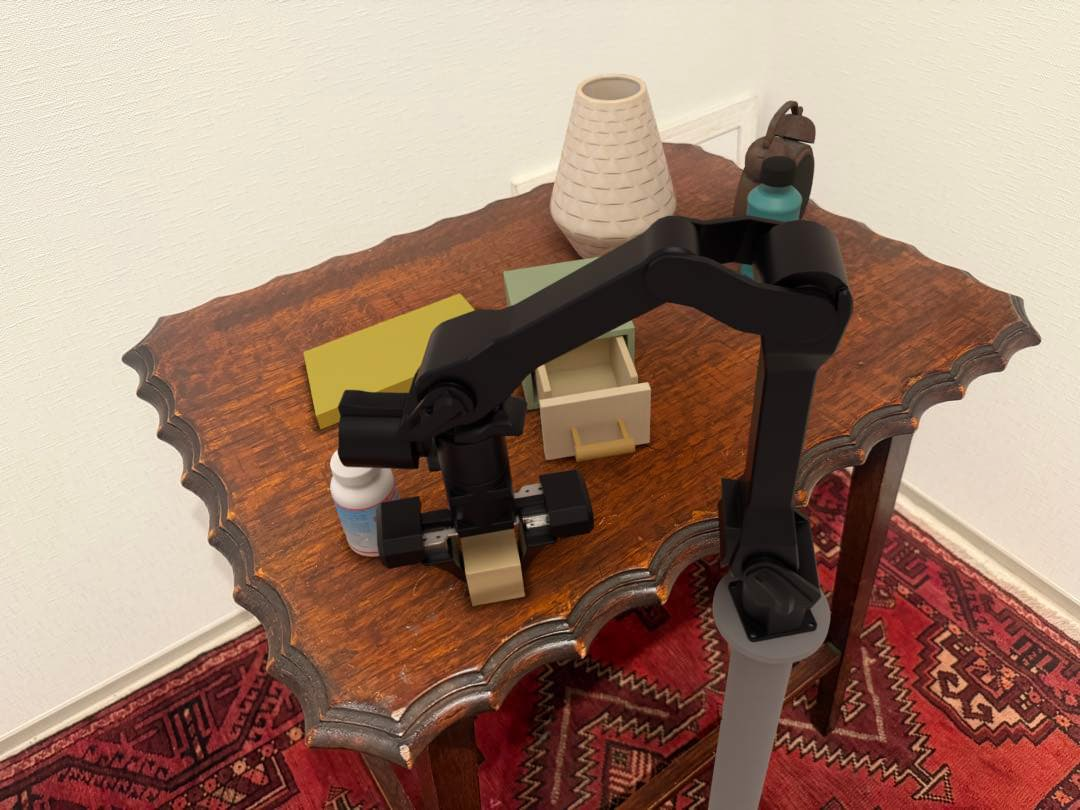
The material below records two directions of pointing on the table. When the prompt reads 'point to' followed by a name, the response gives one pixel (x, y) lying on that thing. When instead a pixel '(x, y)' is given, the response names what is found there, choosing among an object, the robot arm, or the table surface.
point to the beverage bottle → (774, 196)
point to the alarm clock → (780, 154)
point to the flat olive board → (375, 357)
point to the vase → (611, 167)
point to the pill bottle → (360, 502)
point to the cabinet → (538, 278)
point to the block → (492, 567)
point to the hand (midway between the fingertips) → (494, 573)
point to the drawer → (592, 402)
